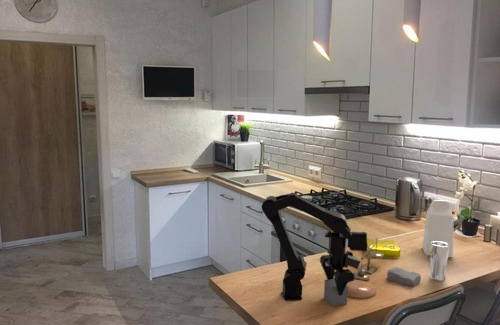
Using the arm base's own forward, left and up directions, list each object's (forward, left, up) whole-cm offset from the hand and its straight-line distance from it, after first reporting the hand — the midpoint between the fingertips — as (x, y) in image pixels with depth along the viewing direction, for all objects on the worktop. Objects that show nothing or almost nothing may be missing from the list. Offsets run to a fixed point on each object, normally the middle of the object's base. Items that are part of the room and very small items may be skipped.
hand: (335, 289), depth 160 cm
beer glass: (+50, +12, -4) cm, 52 cm away
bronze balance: (+25, +24, -4) cm, 35 cm away
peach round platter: (+12, +7, -4) cm, 15 cm away
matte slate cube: (0, 0, -4) cm, 4 cm away
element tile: (+42, +45, -5) cm, 62 cm away
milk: (+69, +40, -4) cm, 80 cm away
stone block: (+36, +13, -5) cm, 39 cm away
